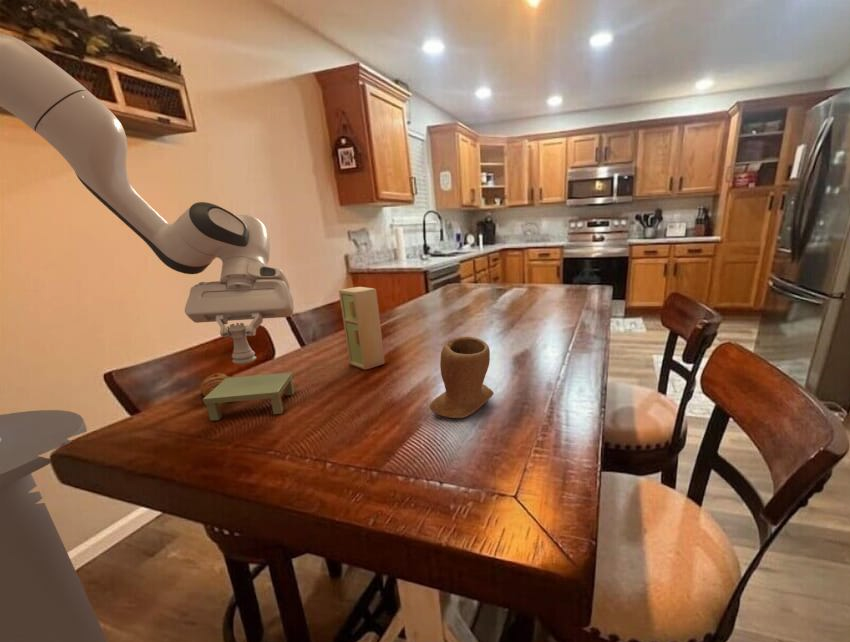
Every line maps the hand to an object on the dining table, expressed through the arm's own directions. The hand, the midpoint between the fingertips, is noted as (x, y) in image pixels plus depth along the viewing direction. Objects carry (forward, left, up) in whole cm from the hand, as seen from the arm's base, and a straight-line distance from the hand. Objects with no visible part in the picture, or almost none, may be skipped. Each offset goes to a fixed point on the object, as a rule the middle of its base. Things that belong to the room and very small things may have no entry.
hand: (238, 335), depth 83 cm
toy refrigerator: (+22, +23, -16) cm, 36 cm away
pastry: (-11, +11, -16) cm, 23 cm away
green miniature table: (0, +1, -16) cm, 16 cm away
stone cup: (+45, -11, -16) cm, 49 cm away
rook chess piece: (0, +1, -6) cm, 6 cm away
